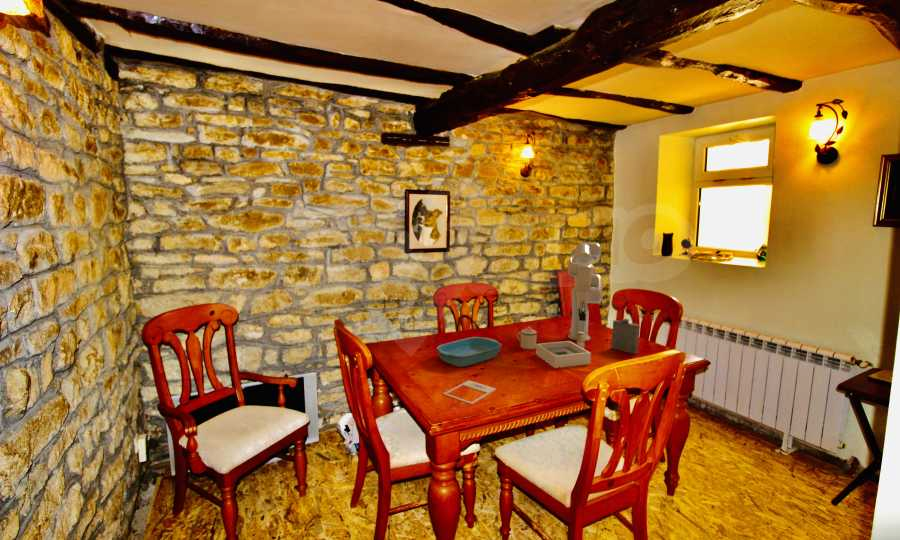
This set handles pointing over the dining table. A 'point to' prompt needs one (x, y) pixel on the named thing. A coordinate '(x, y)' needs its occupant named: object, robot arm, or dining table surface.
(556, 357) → the open top box
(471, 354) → the casserole dish
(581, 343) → the peg
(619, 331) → the flask
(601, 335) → the dining table surface
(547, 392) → the dining table surface
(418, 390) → the dining table surface
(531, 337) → the teacup with lid
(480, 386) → the photo frame
